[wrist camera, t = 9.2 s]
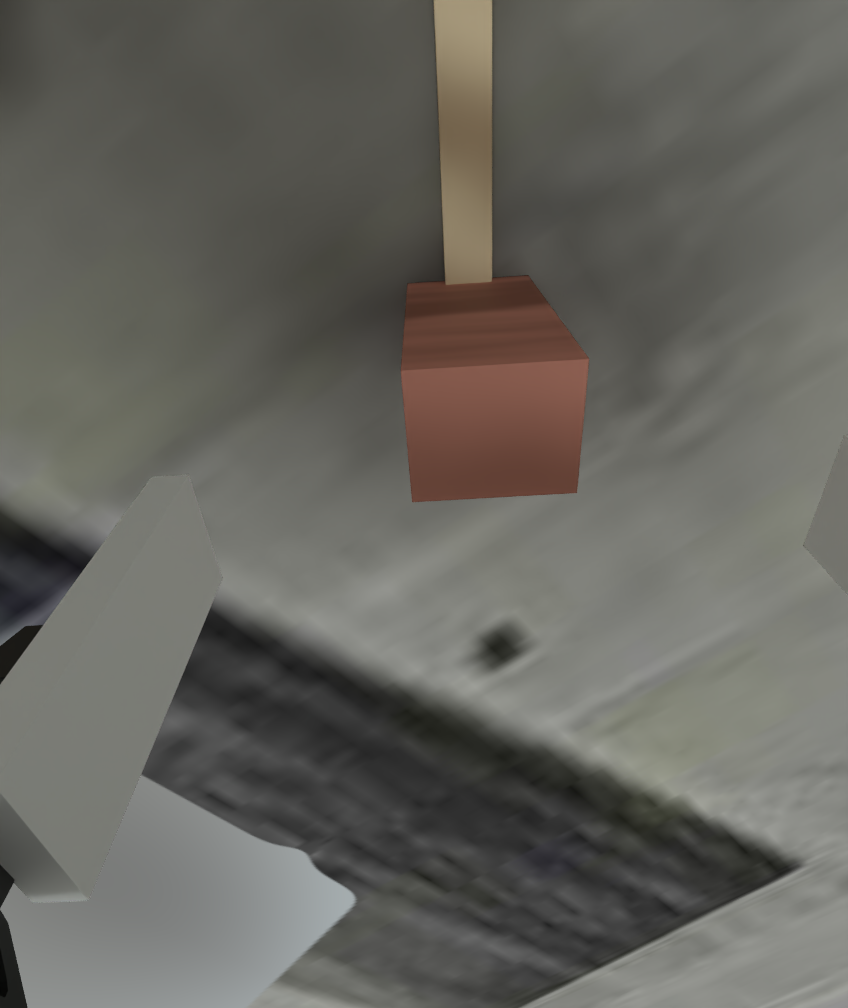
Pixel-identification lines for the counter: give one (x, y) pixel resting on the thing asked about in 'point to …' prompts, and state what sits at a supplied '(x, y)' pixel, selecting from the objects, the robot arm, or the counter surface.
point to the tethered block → (483, 318)
